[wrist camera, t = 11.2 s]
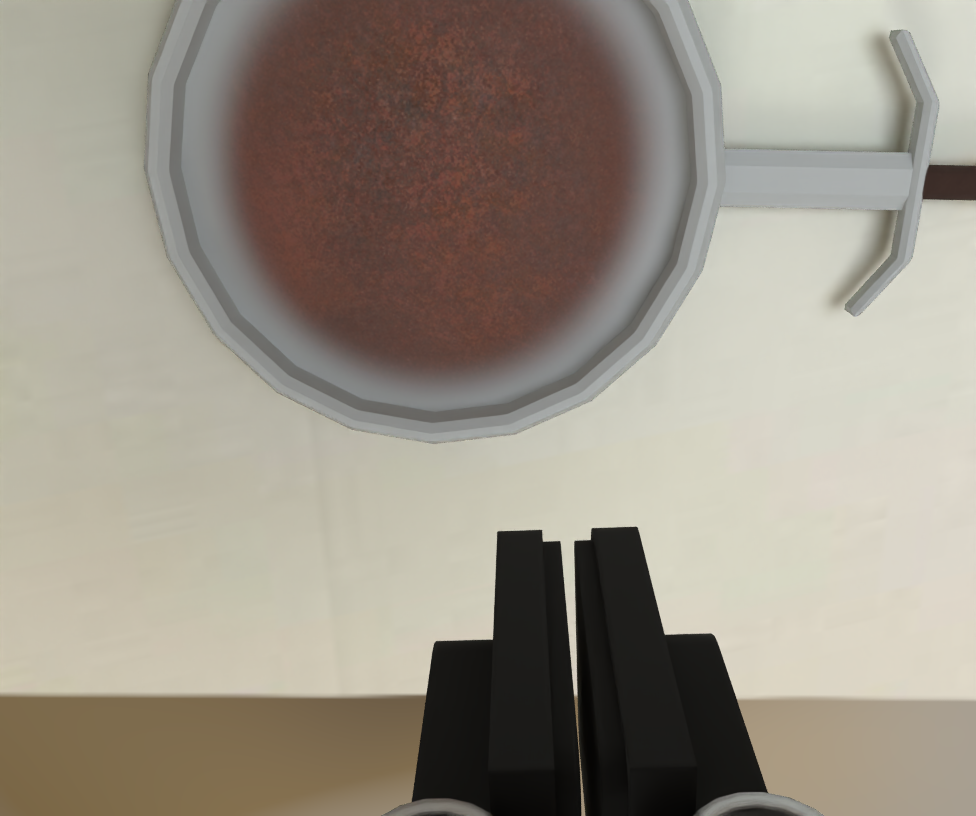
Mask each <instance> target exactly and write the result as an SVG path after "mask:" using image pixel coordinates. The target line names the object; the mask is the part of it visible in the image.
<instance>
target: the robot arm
mask: <svg viewBox="0 0 976 816" xmlns="http://www.w3.org/2000/svg"><path fill="white" fill-rule="evenodd" d="M574 556H575V600H576V644H577V688H578V726H579V747H580V759H581V771H582V782H583V793H584V804H585V815H586V816H824V815H823V814H821V813H820V812H819V811H817V810H816V809H814V808H812V807H810V806H808V805H805V804H803V803H801V802H799V801H796V800H794V799H792V798H789V797H784V796H780V795H775V794H769V793H768V792H767V789H766V786H765V783H764V780H763V777H762V774H761V771H760V768H759V765H758V762H757V759H756V756H755V753H754V750H753V747H752V744H751V741H750V738H749V735H748V732H747V729H746V726H745V723H744V720H743V717H742V714H741V711H740V709H739V705H738V702H737V699H736V696H735V693H734V690H733V687H732V684H731V681H730V678H729V675H728V672H727V669H726V666H725V663H724V660H723V657H722V654H721V651H720V648H719V645H718V643H717V640H716V638H715V636H714V635H712V634H677V635H664V631H663V627H662V623H661V619H660V615H659V611H658V607H657V603H656V599H655V595H654V591H653V587H652V583H651V579H650V575H649V571H648V567H647V563H646V558H645V554H644V550H643V546H642V542H641V538H640V534H639V531H638V528H637V527H616V528H592V530H591V540H583V541H575V542H574ZM382 816H581V785H580V765H579V749H578V737H577V726H576V715H575V703H574V691H573V680H572V668H571V657H570V646H569V634H568V623H567V611H566V600H565V588H564V577H563V565H562V554H561V543H560V541H553V542H543V539H542V530H526V531H498V532H497V555H496V580H495V605H494V631H493V640H463V641H436V642H435V643H434V647H433V652H432V659H431V666H430V674H429V681H428V688H427V695H426V703H425V710H424V717H423V724H422V732H421V740H420V747H419V754H418V761H417V768H416V775H415V783H414V790H413V797H412V802H411V803H407V804H404V805H400V806H398V807H397V808H395V809H393V810H391V811H389V812H387V813H385V814H384V815H382Z"/></svg>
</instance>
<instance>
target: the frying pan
mask: <svg viewBox="0 0 976 816" xmlns="http://www.w3.org/2000/svg"><path fill="white" fill-rule="evenodd" d="M889 39H890V41H891V44H892V46H893V48H894V50H895V53H896V55H897V57H898V60H899V62H900V64H901V67H902V69H903V71H904V74H905V76H906V78H907V81H908V83H909V85H910V88H911V90H912V92H913V95H914V97H915V99H916V108H915V114H914V119H913V125H912V131H911V137H910V143H909V149H908V152H862V151H815V150H769V149H724V131H723V112H722V92H721V83H720V81H719V78H718V76H717V73H716V70H715V68H714V65H713V63H712V60H711V58H710V55H709V53H708V50H707V47H706V45H705V42H704V40H703V37H702V35H701V32H700V29H699V27H698V24H697V22H696V19H695V17H694V14H693V11H692V9H691V6H690V4H689V1H688V0H176V2H175V4H174V7H173V10H172V12H171V15H170V17H169V20H168V23H167V25H166V28H165V31H164V33H163V36H162V39H161V41H160V44H159V47H158V49H157V52H156V55H155V57H154V60H153V63H152V65H151V68H150V71H149V73H148V93H147V115H146V136H145V158H144V170H145V174H146V178H147V182H148V185H149V189H150V193H151V197H152V201H153V205H154V209H155V212H156V216H157V220H158V224H159V228H160V232H161V236H162V239H163V243H164V247H165V251H166V255H167V258H168V260H169V261H170V263H171V265H172V266H173V268H174V270H175V271H176V273H177V275H178V276H179V278H180V280H181V281H182V283H183V285H184V286H185V288H186V289H187V291H188V293H189V294H190V296H191V298H192V299H193V301H194V303H195V304H196V306H197V308H198V309H199V311H200V313H201V314H202V316H203V318H204V319H205V321H206V323H207V324H208V326H209V328H210V329H211V331H212V333H213V334H214V335H215V336H216V337H217V338H218V339H219V340H220V341H222V342H223V343H224V344H225V345H226V346H227V347H228V348H229V349H230V350H231V351H232V352H234V353H235V354H236V355H237V356H238V357H239V358H240V359H241V360H242V361H243V362H244V363H245V364H247V365H248V366H249V367H250V368H251V369H252V370H253V371H254V372H255V373H256V374H257V375H259V376H260V377H261V378H262V379H263V380H264V381H265V382H266V383H267V384H268V385H269V386H270V387H272V388H273V389H274V390H275V391H276V392H277V393H279V394H281V395H283V396H285V397H287V398H289V399H291V400H293V401H295V402H297V403H299V404H301V405H303V406H305V407H307V408H309V409H311V410H313V411H315V412H317V413H319V414H322V415H324V416H326V417H328V418H330V419H332V420H334V421H336V422H338V423H340V424H342V425H344V426H346V427H348V428H350V429H352V430H357V431H362V432H368V433H374V434H380V435H385V436H391V437H397V438H402V439H408V440H414V441H419V442H425V443H431V444H438V443H446V442H455V441H463V440H472V439H480V438H489V437H497V436H506V435H514V434H517V433H519V432H522V431H524V430H526V429H529V428H531V427H533V426H535V425H538V424H540V423H542V422H545V421H547V420H549V419H551V418H554V417H556V416H558V415H561V414H563V413H565V412H567V411H570V410H572V409H574V408H577V407H579V406H581V405H583V404H586V403H588V402H590V401H592V400H593V399H594V398H595V397H597V396H598V395H599V394H600V393H601V392H602V391H604V390H605V389H606V388H607V387H608V386H609V385H610V384H612V383H613V382H614V381H615V380H616V379H617V378H619V377H620V376H621V375H622V374H623V373H624V372H626V371H627V370H628V369H629V368H630V367H631V366H633V365H634V364H635V363H636V362H637V361H638V360H640V359H641V358H642V357H643V356H644V355H645V354H646V353H648V352H649V351H650V350H651V349H652V348H653V347H655V346H656V344H657V343H658V341H659V340H660V338H661V336H662V335H663V333H664V332H665V330H666V328H667V327H668V325H669V324H670V322H671V320H672V319H673V317H674V316H675V314H676V312H677V311H678V309H679V308H680V306H681V304H682V303H683V301H684V300H685V298H686V296H687V295H688V293H689V292H690V290H691V288H692V287H693V285H694V284H695V282H696V280H697V279H698V277H699V276H700V274H701V272H702V271H703V267H704V263H705V260H706V256H707V252H708V248H709V244H710V241H711V237H712V233H713V229H714V225H715V221H716V218H717V214H718V210H719V206H736V207H780V208H823V209H867V210H898V214H897V220H896V226H895V231H894V237H893V243H892V249H891V255H890V256H889V257H888V259H887V260H886V261H885V262H884V263H883V264H882V265H881V266H880V267H879V268H878V269H877V270H876V272H875V273H874V274H873V275H872V276H871V277H870V278H869V279H868V280H867V281H866V282H865V283H864V285H863V286H862V287H861V288H860V289H859V290H858V291H857V292H856V293H855V294H854V295H853V297H852V298H851V299H850V300H849V301H848V302H847V303H846V304H845V310H846V311H847V312H849V313H850V314H851V315H853V316H858V315H860V314H861V313H862V312H863V311H864V310H865V309H866V308H867V307H868V306H869V305H870V304H871V303H872V302H873V300H874V299H875V298H876V297H877V296H878V295H879V294H880V293H881V292H882V291H883V290H884V289H885V288H886V287H887V286H888V285H889V284H890V282H891V281H892V280H893V279H894V278H895V277H896V276H897V275H898V274H899V273H900V272H901V271H902V270H903V269H904V268H905V267H906V265H907V264H908V263H909V262H910V261H911V259H912V257H913V252H914V246H915V240H916V235H917V229H918V224H919V218H920V212H921V207H922V201H923V199H937V200H976V166H955V165H929V162H930V156H931V151H932V145H933V139H934V134H935V128H936V123H937V117H938V111H939V99H938V97H937V95H936V92H935V90H934V88H933V85H932V83H931V80H930V78H929V76H928V73H927V71H926V69H925V66H924V64H923V62H922V59H921V57H920V55H919V52H918V50H917V48H916V45H915V43H914V41H913V38H912V36H911V34H910V32H909V31H908V30H893V31H891V32H890V36H889Z"/></svg>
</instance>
